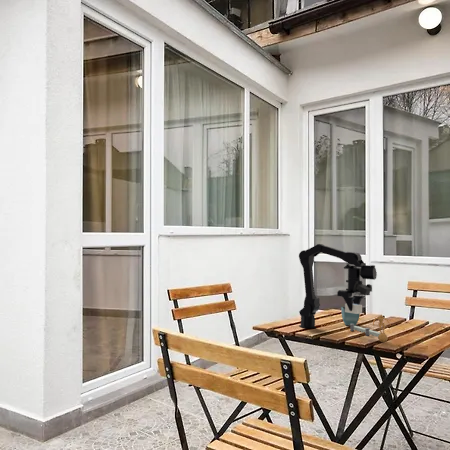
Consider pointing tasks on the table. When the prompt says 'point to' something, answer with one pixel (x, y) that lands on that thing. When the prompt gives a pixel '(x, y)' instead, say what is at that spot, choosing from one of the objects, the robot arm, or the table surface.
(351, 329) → the rail
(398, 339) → the table surface
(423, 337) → the table surface
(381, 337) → the figurine
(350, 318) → the flower pot
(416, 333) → the table surface
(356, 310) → the cream rectangular block
